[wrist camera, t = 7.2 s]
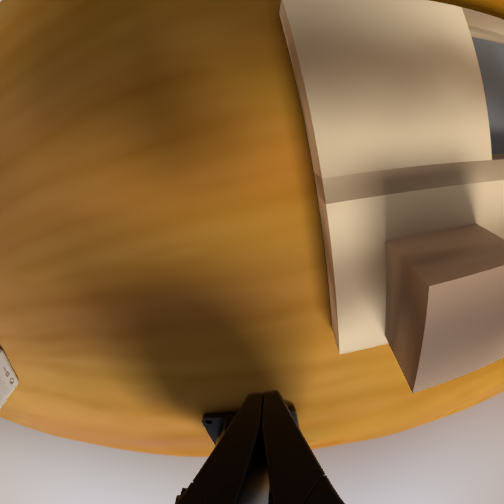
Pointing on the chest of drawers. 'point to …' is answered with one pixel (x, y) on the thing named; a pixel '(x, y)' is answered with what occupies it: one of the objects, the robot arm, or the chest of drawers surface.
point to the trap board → (395, 135)
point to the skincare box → (6, 378)
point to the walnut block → (445, 303)
